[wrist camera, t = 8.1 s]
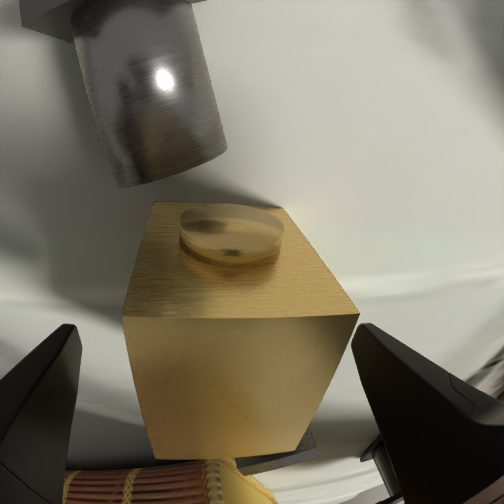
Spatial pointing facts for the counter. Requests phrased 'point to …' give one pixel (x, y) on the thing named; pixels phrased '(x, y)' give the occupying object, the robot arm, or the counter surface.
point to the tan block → (231, 330)
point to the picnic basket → (167, 485)
